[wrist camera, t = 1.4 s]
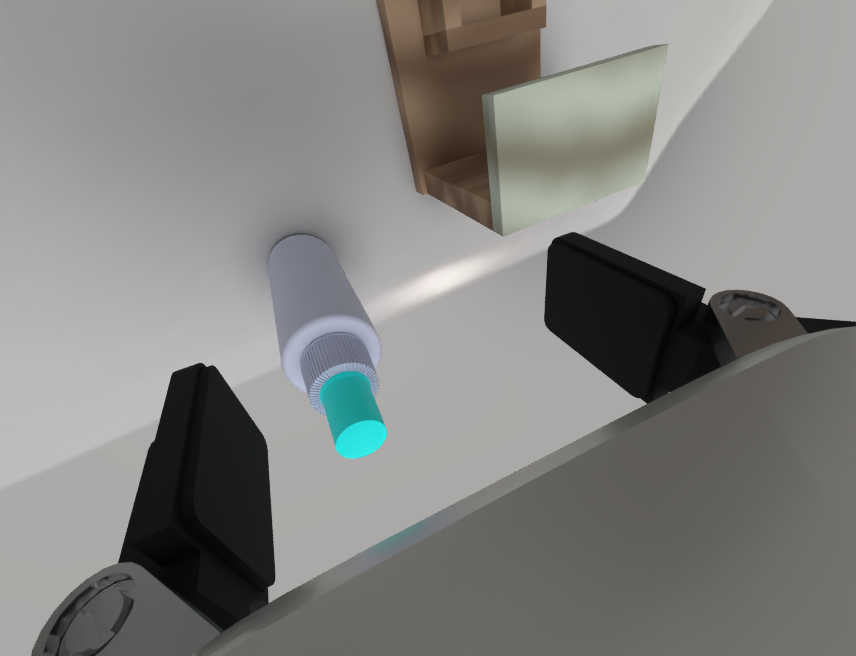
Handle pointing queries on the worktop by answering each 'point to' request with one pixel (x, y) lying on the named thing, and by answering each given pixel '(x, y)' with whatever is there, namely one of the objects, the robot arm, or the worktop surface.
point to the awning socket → (514, 111)
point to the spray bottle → (327, 342)
